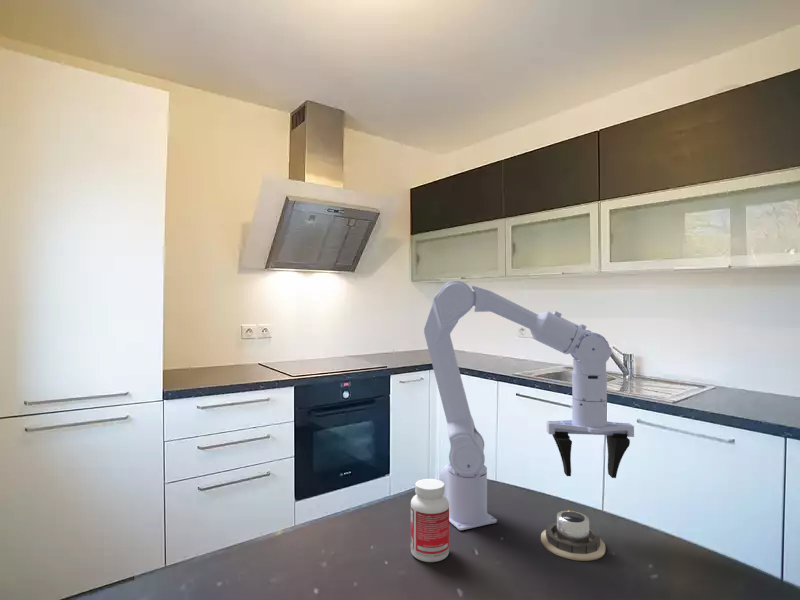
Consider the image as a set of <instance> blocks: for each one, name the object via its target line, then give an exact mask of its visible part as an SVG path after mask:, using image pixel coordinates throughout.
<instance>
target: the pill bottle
mask: <svg viewBox="0 0 800 600" xmlns="http://www.w3.org/2000/svg"><path fill="white" fill-rule="evenodd" d="M414 485H415V489H414V491H415V492H414V493H415V495H413V496H412V498H411V500H410V552H411V554H412V556H413V557H414V558H416V559H417V560H419V561H421V562H425V563H436V562H440V561H444V560H445V559H447V557H448V555H449V553H450V522H449V501H448V499H447V498H446V497H445V496H444V492H445V485H444V483H443V482H442V481H440V480H439V479H435V478H423V479H419V480H417V481H416V482H415V484H414Z"/></svg>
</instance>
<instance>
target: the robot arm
mask: <svg viewBox="0 0 800 600" xmlns="http://www.w3.org/2000/svg"><path fill="white" fill-rule="evenodd" d="M470 286H471V287H472V288H471V287H470ZM473 307H474V312H475V313H478V312H480V313H484V312H485V313H487V312H491V313H493V314H495V315H497V316H499V317H502V318H505V319H506V320H509V321H511V322H513V323H515V324H517V325H521V326H523V327H524V328H527V329H529V331H530V334H531V335H532V338H533V340H535V341H537V342H539V343H541V344H543V345H545V346H547V347H549V348H552V349H554V350H555V351H557V352H560V353H562V354H563V355H570V356H571V357H572V366H573V367H572V374H571V375H572V376H571V377H572V379H571V381H572V383H571V384H572V387H571V388H572V398H571V399H572V403H571V404H572V405H571V406H572V408H571V409H572V414H571V415H572V418H571V419H568V420H567V419H566V420H564V419H563V420H546V432H547V434H548V435H552V438H553V439H554V442H555V444H556V446H557V449H558V452H559V455H560V458H561V461H562V462H561V463H562V467H563V473H564V474H565V476H566V477H572V462H571V461H572V460H571V459H572V458H571V456H572V455H571V454H572V445H573V441H572V440H571V437H570V436H569V435H591V436H592V435H595V436H596V435H598V436H605V438H606V444H607V445H606V446H607V474H608V475H609V477H610V478H611V479H616V478H617V474H618V470H619V467H620V465H621V462H622V458H623V456H624V454H625V453H626V451H627V450H628V448H629V447H630V445H631V444H630V443H631V439H630V438H635V425H633V424H631V423H630V422H628V423H627V422H618V421H617V422H616V421H608V413H607V412H608V391H607V390H608V386H607V385H608V374H607V362H608V361H609V359H610V357H611V355H612V349H611V348H610V343H609V342H608V340H607V338H605V336H603V335H601V334H599V333H597V332H592V330H587V326H586V325H585V324H582V323H580V324H579V325H578V324H576V323H575V322H572V321H570V320H568V319H566V318H564V317H562V315H563V314H562V313H561V312H558V311H556V310H555V311H553V312H551V311H548V310H546V311H543V312H541V313H536V312H533V311H532V310H529V309H527V308H526V307H523V306H521V305H519V304H517V303H516V302H514V301H511V300H510V299H507V298H506V297H503V296H501V295H499V294H497V293H495V292H494V291H491V290H488V289H486V288H483V287H478V286H475V285H468V284H467V283H466V282H464V281H461V280H451V281H448V282H446V283H445V284H444V285H442V287H441V288H440V289H439V291H438V292H437V293H436V294H435V295H434V297H433V300H432V305H431V308H430V311H429V312H428V313H429V314H428V315H427V320H426V321H425V324H424V328H423V331H424V332H423V334H424V338H425V341H426V345H427V349H428V353H429V357H430V361H431V365H432V369H433V372H434V377H435V381H436V385H437V388H438V392H439V396H440V400H441V404H442V407H443V411H444V416H445V420H446V423H447V433H448V439H449V443H450V449H449V453H448V460H449V463H447V464H445V466H443V468H442V469H441V470H440V471H441V472H440V473H439V479H438V480H440V481H442V482H443V483H444V485H445V492H444V496H445V497H446V498H447V499H448V501H449V524H450V523H451V525H453V526H454V527H455V528H456V529H458V530H459V531H464V530H468V529H474V528H477V527H479V528H480V527H482V526H486V525H491V524H496V523H498V519H497V518H495V517H494V516H493V515H491V514H490V513H488V476H487V475H488V468H487V466H486V465H485V453H484V450H485V441H484V437H483V436H482V434H481V433H480V432H479V431H478V430H477V428H476V426H475V423H474V419H473V416H472V415H471V414H472V413H471V411H470V405H469V402H468V399H467V395H466V392H465V387H464V384H463V379H462V376H461V372H460V367H459V364H458V360H457V356H456V353H455V349H454V344H453V341H452V338H451V333H452V332H453V331H454V328H455V327H456V326H457V324H458V322H459V320H460V319H462V317H464V316H465V315H467V313H468V312H469V311H471V310H472V308H473Z"/></svg>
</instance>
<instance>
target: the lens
mask: <svg viewBox="0 0 800 600" xmlns="http://www.w3.org/2000/svg"><path fill="white" fill-rule="evenodd" d="M556 522H557V538H559V539H560V540H563V541H567V542H570V543H579V544H585V543H588V542H589V528H590V518H589V516H587V515H585V514H583V513H582V512H578V511H575V510H571V509H567V510H561V511H558V512H557V514H556Z"/></svg>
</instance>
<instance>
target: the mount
mask: <svg viewBox="0 0 800 600" xmlns="http://www.w3.org/2000/svg"><path fill="white" fill-rule="evenodd" d="M540 542H541V544H542V546H543V547H544V548H545V549H546V550H547V551H549V552H550V553H552V554H554V555H556V556H559V557H561V558H564V559H567V560H568V559H569V560H572V561H578V562H579V561H580V562H581V561H583V562H587V561H588V562H590V561H595V560H599V559H600V558H602V557H604V555H605V553H606V544H605V542H604V541H603V539H602V538H601V537H600V535H599V534H598V533H597V531H596V530H595V529H592V528H590V527H589V542H588V543H585V544H579V543H570V542H567V541H563V540H560V539H559V538H557V521H555V522H553V523H550V524H548V525H547V526H546V528H545V529H544V530H543V531H542V532H541V534H540Z"/></svg>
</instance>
